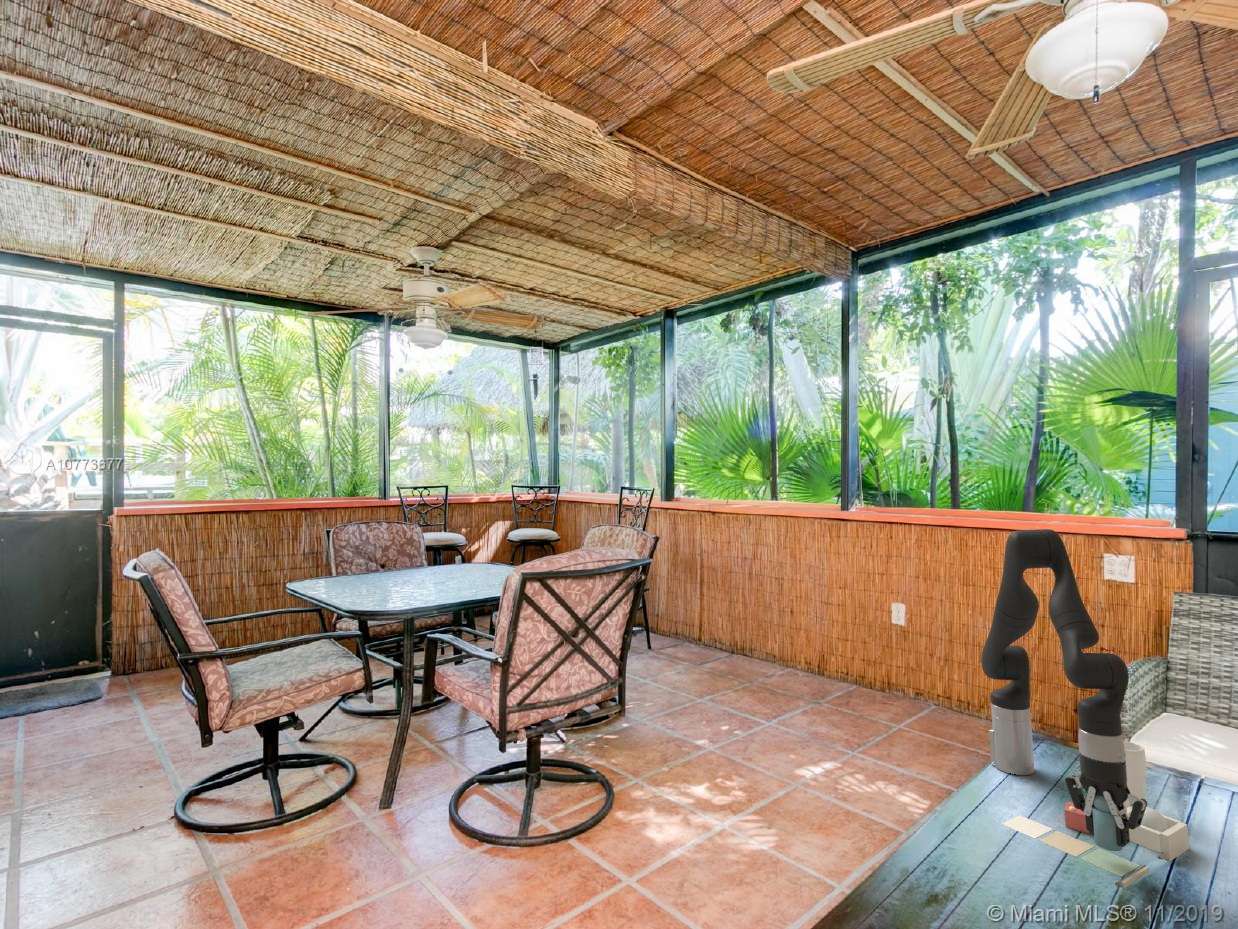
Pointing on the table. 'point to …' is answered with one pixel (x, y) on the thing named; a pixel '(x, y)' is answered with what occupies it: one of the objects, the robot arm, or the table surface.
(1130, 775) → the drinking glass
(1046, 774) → the table surface
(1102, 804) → the slate blue cylinder
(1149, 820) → the pale grey egg
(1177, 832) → the dome collar
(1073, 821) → the red die
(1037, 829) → the game board
